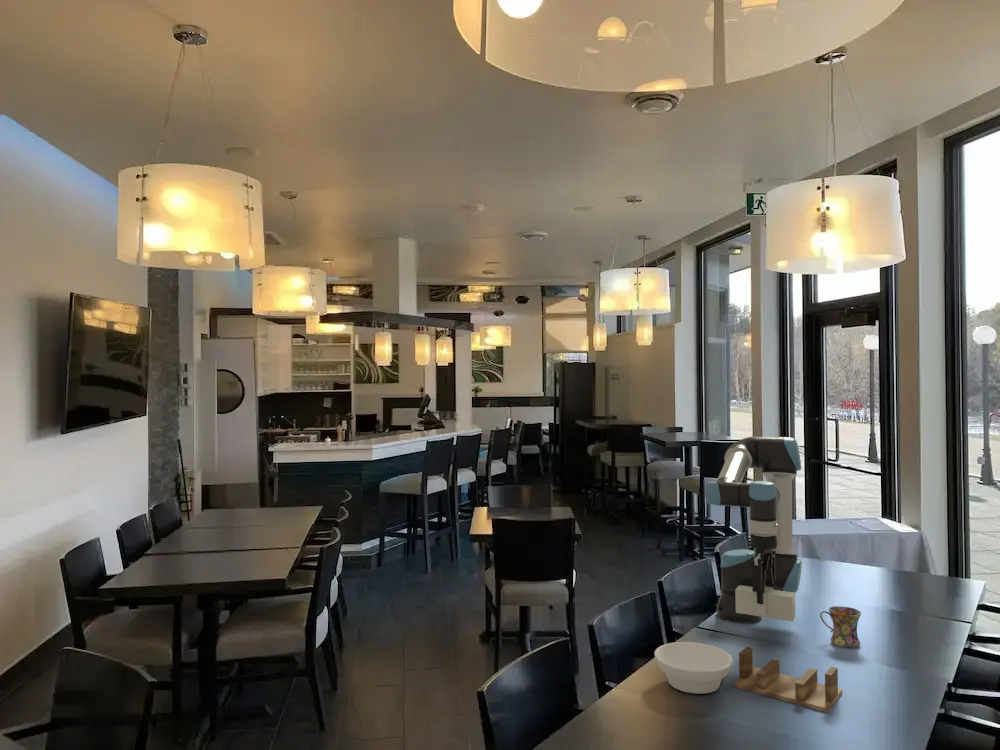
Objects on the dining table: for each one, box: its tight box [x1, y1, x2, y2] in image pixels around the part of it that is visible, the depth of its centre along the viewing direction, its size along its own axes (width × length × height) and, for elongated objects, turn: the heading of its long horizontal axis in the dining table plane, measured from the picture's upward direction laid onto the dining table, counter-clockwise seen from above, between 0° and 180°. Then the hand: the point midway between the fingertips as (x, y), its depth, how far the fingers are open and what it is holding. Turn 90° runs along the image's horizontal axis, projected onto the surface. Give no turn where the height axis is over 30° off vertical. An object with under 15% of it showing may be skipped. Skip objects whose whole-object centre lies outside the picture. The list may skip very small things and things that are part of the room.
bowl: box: [654, 641, 734, 694], centre depth 190 cm, size 21×21×8 cm
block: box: [735, 585, 796, 622], centre depth 205 cm, size 16×5×7 cm, turn 58°
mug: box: [819, 605, 862, 648], centre depth 219 cm, size 12×9×11 cm
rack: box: [733, 646, 843, 713], centre depth 186 cm, size 24×14×8 cm, turn 49°
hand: (765, 611), depth 205 cm, fingers closed on block, 5 cm apart
